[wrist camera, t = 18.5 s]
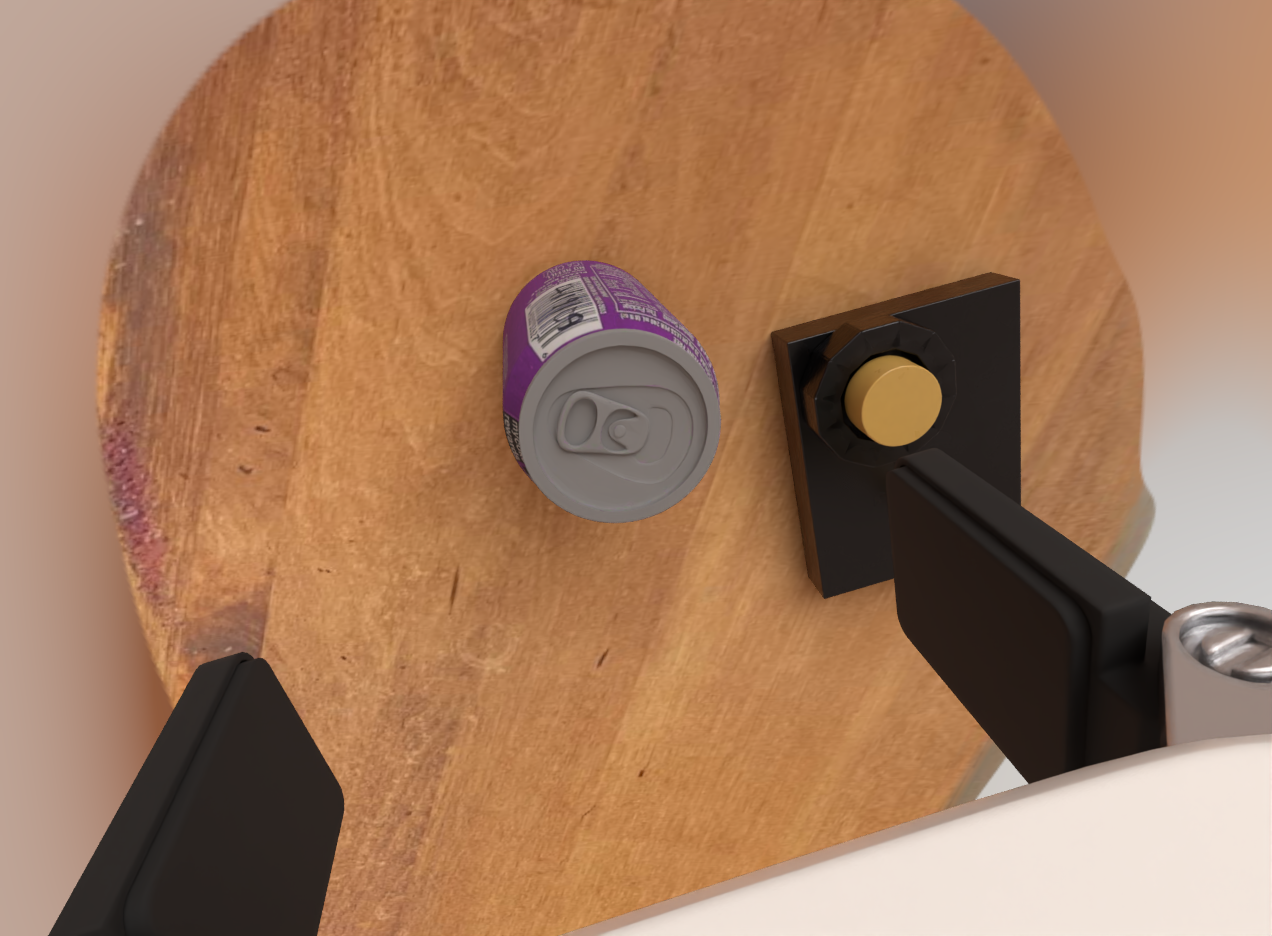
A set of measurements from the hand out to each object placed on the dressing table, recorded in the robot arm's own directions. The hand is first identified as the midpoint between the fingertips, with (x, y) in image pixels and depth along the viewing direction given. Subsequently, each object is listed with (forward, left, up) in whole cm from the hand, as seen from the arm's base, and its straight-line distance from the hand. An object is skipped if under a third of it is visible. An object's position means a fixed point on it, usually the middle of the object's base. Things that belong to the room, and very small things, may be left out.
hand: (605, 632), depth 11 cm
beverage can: (+2, +2, -24) cm, 24 cm away
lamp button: (+7, +14, -20) cm, 25 cm away
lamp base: (+11, +16, -24) cm, 30 cm away
